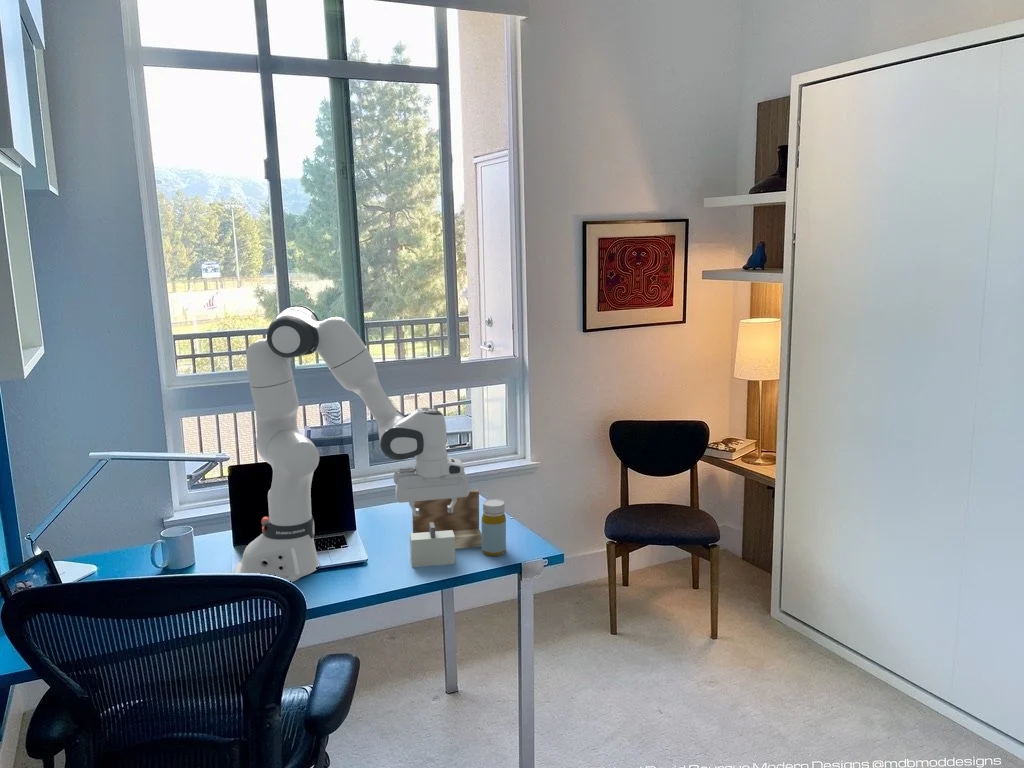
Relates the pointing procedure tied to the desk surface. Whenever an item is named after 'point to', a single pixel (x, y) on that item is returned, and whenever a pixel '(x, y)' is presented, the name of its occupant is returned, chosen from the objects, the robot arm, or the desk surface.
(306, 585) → the desk surface
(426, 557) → the white knobbed block
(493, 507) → the bottle
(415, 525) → the wall board
